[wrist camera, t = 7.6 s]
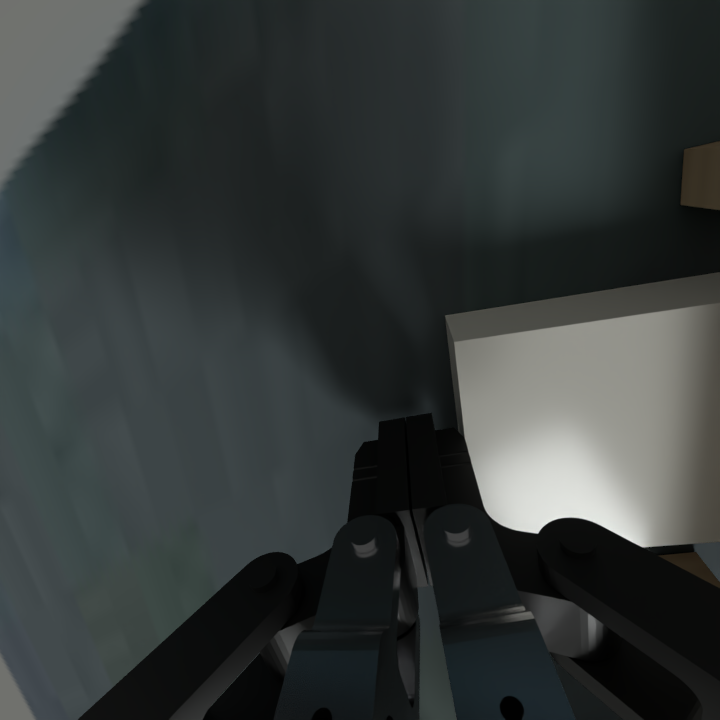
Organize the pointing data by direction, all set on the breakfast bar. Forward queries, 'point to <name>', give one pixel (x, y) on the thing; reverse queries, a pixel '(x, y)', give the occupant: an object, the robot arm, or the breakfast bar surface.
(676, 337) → the tile
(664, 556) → the small tan table
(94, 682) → the breakfast bar surface
